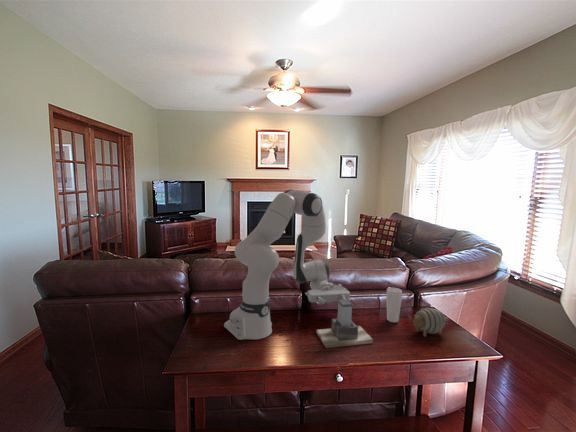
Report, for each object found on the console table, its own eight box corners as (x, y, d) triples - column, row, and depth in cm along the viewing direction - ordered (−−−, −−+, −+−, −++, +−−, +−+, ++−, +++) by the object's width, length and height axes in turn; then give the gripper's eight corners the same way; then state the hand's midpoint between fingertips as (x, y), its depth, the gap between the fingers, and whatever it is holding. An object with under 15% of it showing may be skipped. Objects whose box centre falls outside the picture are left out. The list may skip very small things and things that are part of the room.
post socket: (316, 332, 126) (317, 318, 126) (359, 328, 130) (360, 314, 130) (325, 348, 115) (326, 332, 114) (372, 343, 119) (373, 327, 118)
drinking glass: (401, 319, 140) (403, 289, 139) (398, 325, 135) (400, 293, 133) (387, 316, 144) (388, 286, 142) (383, 321, 138) (385, 290, 137)
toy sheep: (405, 330, 130) (406, 305, 129) (436, 325, 135) (438, 302, 134) (422, 342, 120) (424, 316, 119) (455, 336, 125) (457, 311, 124)
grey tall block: (337, 331, 124) (338, 300, 123) (345, 331, 125) (347, 299, 124) (341, 337, 120) (342, 304, 118) (350, 337, 120) (352, 304, 119)
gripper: (304, 286, 144) (312, 296, 131) (343, 283, 148) (355, 293, 135) (304, 298, 145) (312, 310, 131) (343, 295, 149) (354, 306, 136)
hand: (334, 301), depth 133 cm, fingers open, 8 cm apart
